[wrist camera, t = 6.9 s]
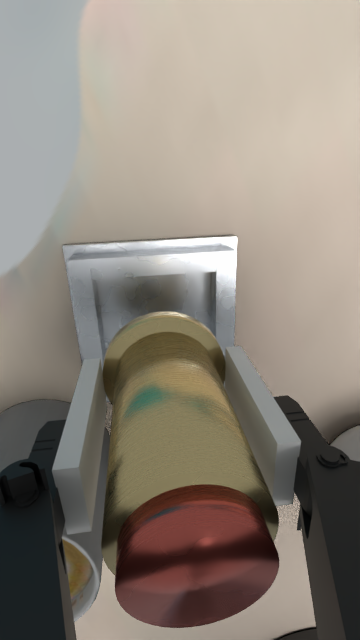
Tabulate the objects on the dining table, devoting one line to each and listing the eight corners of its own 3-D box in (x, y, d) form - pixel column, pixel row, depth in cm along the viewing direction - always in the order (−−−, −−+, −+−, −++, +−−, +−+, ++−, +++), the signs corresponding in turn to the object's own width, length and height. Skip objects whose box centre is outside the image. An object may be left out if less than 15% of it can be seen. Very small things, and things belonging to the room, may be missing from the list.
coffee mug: (89, 385, 25) (62, 500, 16) (126, 479, 29) (122, 615, 20) (-87, 430, 25) (-218, 575, 16) (-26, 519, 29) (-101, 677, 20)
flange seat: (229, 438, 29) (246, 484, 24) (98, 453, 28) (91, 504, 23) (234, 235, 22) (258, 248, 18) (64, 244, 21) (45, 260, 17)
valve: (220, 407, 19) (304, 626, 10) (111, 419, 18) (90, 666, 9) (222, 306, 16) (334, 471, 7) (96, 316, 16) (46, 511, 7)
